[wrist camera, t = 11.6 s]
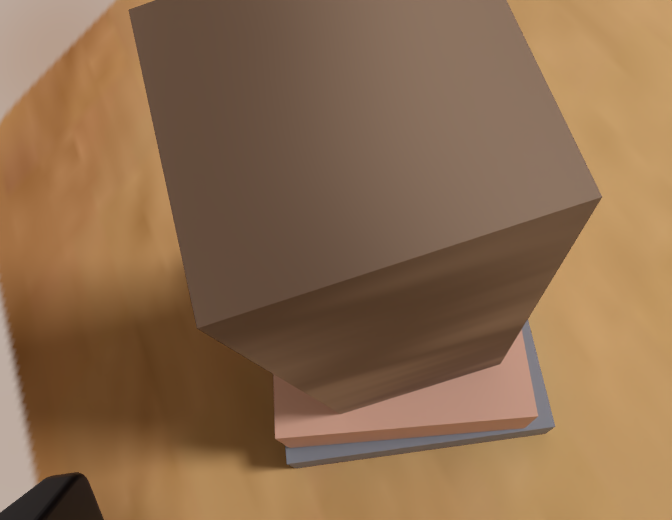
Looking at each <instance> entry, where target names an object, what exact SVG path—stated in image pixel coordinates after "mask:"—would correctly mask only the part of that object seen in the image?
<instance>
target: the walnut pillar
mask: <svg viewBox="0 0 672 520" xmlns="http://www.w3.org/2000/svg"><path fill="white" fill-rule="evenodd" d="M129 14H130V19H131V23H132V28H133V33H134V37H135V42H136V47H137V51H138V56H139V61H140V65H141V70H142V74H143V79H144V84H145V88H146V93H147V98H148V102H149V107H150V112H151V116H152V121H153V126H154V130H155V135H156V140H157V144H158V149H159V154H160V158H161V163H162V168H163V172H164V177H165V182H166V186H167V191H168V195H169V200H170V205H171V209H172V214H173V219H174V223H175V228H176V233H177V237H178V242H179V247H180V251H181V256H182V261H183V265H184V270H185V275H186V279H187V284H188V289H189V293H190V298H191V303H192V307H193V312H194V316H195V321H196V326H197V329H199V330H201V331H202V332H204V333H206V334H207V335H209V336H211V337H212V338H214V339H216V340H217V341H219V342H221V343H222V344H224V345H226V346H227V347H229V348H231V349H232V350H234V351H236V352H237V353H239V354H241V355H242V356H244V357H246V358H247V359H249V360H251V361H252V362H254V363H256V364H257V365H259V366H261V367H262V368H264V369H266V370H267V371H269V372H271V373H272V374H274V375H276V376H277V377H279V378H281V379H282V380H284V381H286V382H287V383H289V384H291V385H292V386H294V387H296V388H297V389H299V390H301V391H302V392H304V393H306V394H308V395H309V396H311V397H313V398H314V399H316V400H318V401H319V402H321V403H323V404H324V405H326V406H328V407H329V408H331V409H333V410H334V411H336V412H338V413H339V414H343V413H347V412H350V411H353V410H356V409H359V408H362V407H366V406H369V405H372V404H375V403H378V402H382V401H385V400H388V399H391V398H394V397H397V396H401V395H404V394H407V393H410V392H413V391H417V390H420V389H423V388H426V387H429V386H432V385H436V384H439V383H442V382H445V381H448V380H452V379H455V378H458V377H461V376H464V375H467V374H471V373H474V372H477V371H480V370H483V369H486V368H490V367H493V366H496V365H499V364H501V362H502V361H503V359H504V357H505V356H506V354H507V352H508V351H509V349H510V347H511V346H512V344H513V343H514V341H515V339H516V338H517V336H518V334H519V333H520V331H521V329H522V328H523V326H524V324H525V323H526V321H527V320H528V318H529V316H530V315H531V313H532V311H533V310H534V308H535V306H536V305H537V303H538V301H539V300H540V298H541V297H542V295H543V293H544V292H545V290H546V288H547V287H548V285H549V283H550V282H551V280H552V278H553V277H554V275H555V274H556V272H557V270H558V269H559V267H560V265H561V264H562V262H563V260H564V259H565V257H566V255H567V254H568V252H569V251H570V249H571V247H572V246H573V244H574V242H575V241H576V239H577V237H578V236H579V234H580V232H581V231H582V229H583V228H584V226H585V224H586V223H587V221H588V219H589V218H590V216H591V214H592V213H593V211H594V209H595V208H596V206H597V204H598V203H599V201H600V200H601V198H602V196H601V194H600V192H599V189H598V187H597V185H596V183H595V181H594V179H593V177H592V175H591V173H590V171H589V169H588V167H587V165H586V163H585V161H584V159H583V157H582V155H581V153H580V150H579V148H578V146H577V144H576V142H575V140H574V138H573V136H572V134H571V132H570V130H569V128H568V126H567V124H566V122H565V120H564V118H563V116H562V114H561V112H560V109H559V107H558V105H557V103H556V101H555V99H554V97H553V95H552V93H551V91H550V89H549V87H548V85H547V83H546V81H545V79H544V77H543V75H542V73H541V70H540V68H539V66H538V64H537V62H536V60H535V58H534V56H533V54H532V52H531V50H530V48H529V46H528V44H527V42H526V40H525V38H524V36H523V34H522V31H521V29H520V27H519V25H518V23H517V21H516V19H515V17H514V15H513V13H512V11H511V9H510V7H509V5H508V3H507V1H506V0H155V1H152V2H150V3H147V4H144V5H141V6H138V7H135V8H132V9H130V10H129Z"/></svg>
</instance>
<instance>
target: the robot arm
mask: <svg viewBox="0 0 672 520" xmlns="http://www.w3.org/2000/svg"><path fill="white" fill-rule="evenodd" d="M0 520H104V519H103V516H102V514H101V511H100V509H99V506H98V504H97V501H96V499H95V496H94V494H93V491H92V489H91V486H90V484H89V482H88V480H87V478H86V477H85V476H84V475H83V474H81V473H79V472H74V473H68V474H61V475H54V476H50V477H47V478H45V479H44V480H43V481H41V482H40V483H39V484H37V485H36V486H35V487H33V488H32V489H31V490H29V491H28V492H27V493H25V494H24V495H23V496H22V497H20V498H19V499H18V500H16V501H15V502H14V503H12V504H11V505H10V506H8V507H7V508H6V509H5V510H3V511H2V512H1V513H0Z"/></svg>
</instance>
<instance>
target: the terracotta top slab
mask: <svg viewBox="0 0 672 520" xmlns="http://www.w3.org/2000/svg"><path fill="white" fill-rule="evenodd" d="M273 383H274V418H275V439H276V440H278V441H279V442H281V443H282V444H284V445H285V446H287V447H289V448H297V447H308V446H320V445H332V444H344V443H356V442H368V441H380V440H391V439H403V438H415V437H427V436H439V435H451V434H463V433H475V432H486V431H498V430H510V429H522V428H525V427H527V426H528V425H529V424H530V423H531V422H532V421H533V420H535V419H536V418H537V417H538V412H537V407H536V402H535V397H534V391H533V386H532V381H531V376H530V370H529V365H528V360H527V355H526V350H525V344H524V339H523V334H522V329H521V331H520V333H519V334H518V336H517V338H516V339H515V341H514V343H513V344H512V346H511V347H510V349H509V351H508V352H507V354H506V356H505V357H504V359H503V361H502V362H501V364H499V365H496V366H493V367H490V368H486V369H483V370H480V371H477V372H474V373H471V374H467V375H464V376H461V377H458V378H455V379H452V380H448V381H445V382H442V383H439V384H436V385H432V386H429V387H426V388H423V389H420V390H417V391H413V392H410V393H407V394H404V395H401V396H397V397H394V398H391V399H388V400H385V401H382V402H378V403H375V404H372V405H369V406H366V407H362V408H359V409H356V410H353V411H350V412H347V413H343V414H339V413H338V412H336V411H334V410H333V409H331V408H329V407H328V406H326V405H324V404H323V403H321V402H319V401H318V400H316V399H314V398H313V397H311V396H309V395H308V394H306V393H304V392H302V391H301V390H299V389H297V388H296V387H294V386H292V385H291V384H289V383H287V382H286V381H284V380H282V379H281V378H279V377H277V376H276V375H274V374H273Z"/></svg>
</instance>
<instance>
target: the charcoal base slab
mask: <svg viewBox="0 0 672 520" xmlns="http://www.w3.org/2000/svg"><path fill="white" fill-rule="evenodd" d="M522 334H523V339H524V344H525V350H526V355H527V360H528V365H529V370H530V376H531V381H532V386H533V391H534V397H535V402H536V407H537V412H538V417H537V418H536V419H535V420H533V421H532V422H531V423H530V424H529V425H528V426H527V427H525V428H522V429H510V430H498V431H486V432H475V433H463V434H451V435H439V436H427V437H415V438H403V439H391V440H380V441H368V442H356V443H344V444H332V445H320V446H308V447H297V448H289V447H287V446H285V449H286V460H287V464H288V465H290V466H292V467H294V468H302V467H310V466H317V465H324V464H331V463H338V462H345V461H353V460H360V459H367V458H374V457H381V456H389V455H396V454H403V453H410V452H417V451H425V450H432V449H439V448H446V447H453V446H461V445H468V444H475V443H482V442H489V441H496V440H504V439H511V438H518V437H525V436H532V435H540V434H545V433H547V432H548V431H550V430H551V429H553V428H554V427H555V424H554V420H553V416H552V412H551V408H550V404H549V400H548V397H547V393H546V389H545V385H544V381H543V377H542V373H541V369H540V365H539V361H538V357H537V353H536V349H535V345H534V341H533V338H532V334H531V330H530V326H529V322H528V320H527V321H526V323H525V324H524V326H523V328H522Z"/></svg>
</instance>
